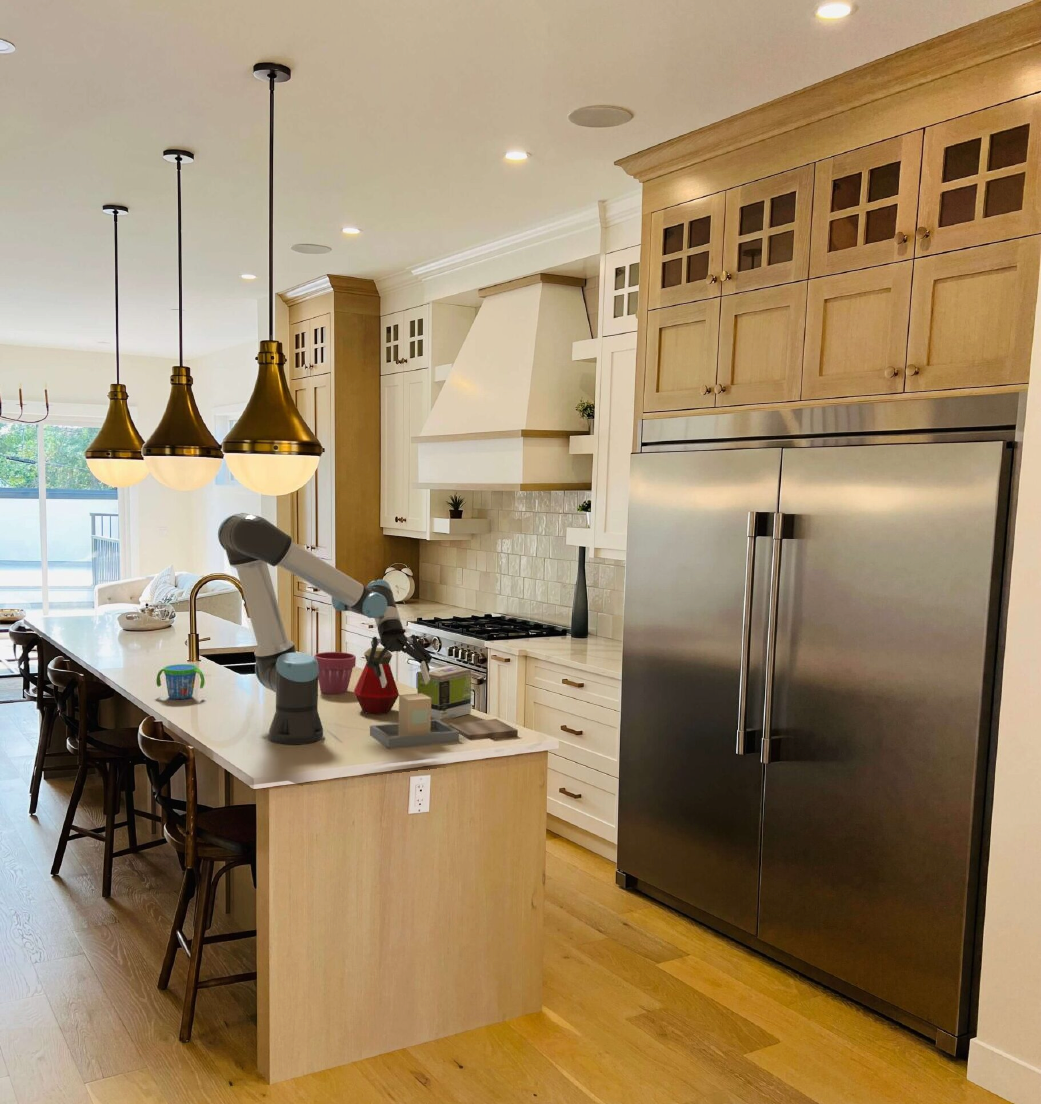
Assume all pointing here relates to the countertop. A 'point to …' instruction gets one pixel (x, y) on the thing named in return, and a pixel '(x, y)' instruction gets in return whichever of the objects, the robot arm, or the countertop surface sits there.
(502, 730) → the walnut board
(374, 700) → the bottle
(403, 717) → the box
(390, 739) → the bin
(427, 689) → the tea box
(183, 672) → the snack cup
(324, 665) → the plant pot
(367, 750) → the countertop surface
